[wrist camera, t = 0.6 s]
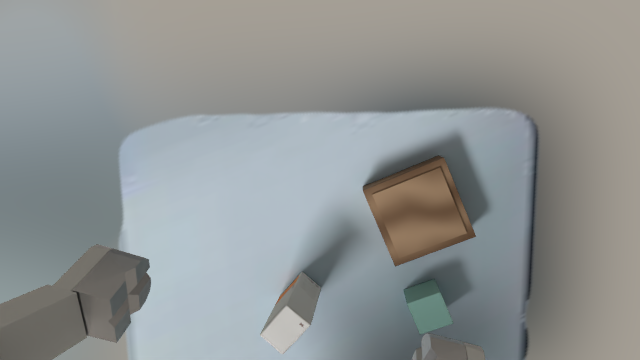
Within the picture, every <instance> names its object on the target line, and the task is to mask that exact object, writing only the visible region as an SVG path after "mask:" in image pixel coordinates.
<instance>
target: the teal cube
mask: <svg viewBox="0 0 640 360" xmlns="http://www.w3.org/2000/svg"><path fill="white" fill-rule="evenodd" d="M404 293H405V298H406V302H407V305H408V307H409V310H410V312H411V314H412V317H413V319H414V321H415V324H416V326H417V328H418V331H419V333H420V335H421V334H424V333H427V332H429V331H432V330H435V329H438V328H441V327H444V326H447V325H450V324H453V321H452V319H451V316H450V314H449V312H448V309H447V307H446V304H445V302H444V300H443V297H442V295H441V293H440V290H439V288H438V286H437V284H436V282H435V279H432V280H430V281H427V282H424V283H421V284H418V285H416V286H413V287H410V288H407V289H405V290H404Z"/></svg>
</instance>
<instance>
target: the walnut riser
mask: <svg viewBox="0 0 640 360" xmlns="http://www.w3.org/2000/svg"><path fill="white" fill-rule="evenodd" d="M363 192H364V194H365V197H366V199H367V201H368V204H369V206H370V209H371V211H372V213H373V216H374V218H375V220H376V223H377V225H378V227H379V230H380V232H381V234H382V237H383V239H384V241H385V244H386V246H387V248H388V251H389V253H390V255H391V258H392V260H393V262H394V265H395V266H398V265H400V264H403V263H406V262H408V261H411V260H414V259H416V258H419V257H422V256H425V255H427V254H430V253H433V252H435V251H438V250H441V249H443V248H446V247H449V246H452V245H454V244H457V243H460V242H462V241H465V240H468V239H470V238H473V237H476V235H475V233H474V230H473V228H472V226H471V223H470V221H469V218H468V216H467V213H466V211H465V208H464V206H463V203H462V201H461V198H460V196H459V193H458V191H457V189H456V186H455V184H454V181H453V179H452V176H451V174H450V171H449V169H448V166H447V164H446V161H445V159H444V157H441V156H436V157H434V158H431V159H429V160H426V161H424V162H421V163H419V164H417V165H414V166H412V167H409V168H407V169H404V170H402V171H400V172H397V173H395V174H392V175H390V176H387V177H385V178H382V179H380V180H378V181H375V182H373V183H370V184H368V185H365V186H363Z"/></svg>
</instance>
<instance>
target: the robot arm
mask: <svg viewBox="0 0 640 360" xmlns="http://www.w3.org/2000/svg"><path fill="white" fill-rule="evenodd" d="M149 268H150V265H149V259H146V258H143V257H140V256H136V255H133V254H130V253H126V252H123V251H119V250H116V249H112V248H109V247H105V246H102V245H98V244H96V245H94V246H93V247H91V248H89V250H88V251H87V252H86V253H85V254H84V255H83V256H82V257H81V258H80V259H79V260H78V261H77V262H76V263H75V264H74V265H73V266H72V267H71V268H70V269H69V270H68V271H67V272H66V273H65V274H64V275H63V276H62V277H61V278H60V279H59V280H58V281H57V282H56V283H55V284H54V285H53V286H51V285H45V286H43V287H40V288H38V289H36V290H33V291H31V292H28V293H26V294H23V295H21V296H19V297H16V298H14V299H11V300H9V301H7V302H4V303H2V304H0V360H52V359H54V358H55V357H57V356H58V355H60V354H61V353H63V352H65V351H66V350H68V349H70V348H71V347H73V346H74V345H76V344H77V343H79V342H81V341H82V340H84V339H85V338H87V336H92V337H95V338H99V339H103V340H108V341H112V342H116V343H117V342H118V340H119V339H120V338H121V336H122V335H123V333H124V332H125V330H126V329H127V328H128V326H129V325H130V323H131V318H130V314H132V313H134V312H136V311H138V310H140V309H141V307H142V306H143V304H144V303H145V301H146V299H147V296H148V294H149V292H150V287H151V278H150V277H149V275H148V274H147V273H146V272H147V270H148V269H149ZM421 343H422V347H420V348H418V349H416V350H415V352H414V354H413V356H412V360H485V355H484V351H483V349H482V348H481V347H480V346H476V345H472V344H469V343H465V342H461V341H459V340H455V339H451V338H447V337H443V336H439V335H435V334H431V333H426V334H424V336H423V338H422V340H421Z"/></svg>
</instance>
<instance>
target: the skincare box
mask: <svg viewBox="0 0 640 360" xmlns="http://www.w3.org/2000/svg"><path fill="white" fill-rule="evenodd" d="M320 291H321V287H320V286H318V285H317V284H316V283H315V282H314V281H313V280H311V279H310V278H309V277H308V276H307V275H306V274H305V273H303V272H301V273H300V274H299V276H298V277H297V278H296V279H295V280H294V281H293V282H292V284H291V285H290V286H289V287H288V288H287V289H286V290H285V291H284V292H283V293H282V294H281V295H280V297H279V299H278V301H277V303H276V304H275V306H274V308H273V310H272V312H271V314H270V316H269V318H268V320H267V322H266V324H265V326H264V328H263V330H262V332H261V334H260V336H262V337H263V338H264V339H265V340H266V341H267V342H269V343H270V344H271V345H272V346H273V347H274V348H275V349H276V350H278V351H279V352H280V353H281V354H284V353H285V352H286V350H287V349H288V348H289V347H290V346H291V345H292V344H293V343H294V342H296V341H297V339H298V338H299V337H300V336H301V335H302V334H303V333H304V332H305V331H306V329H307V328H308V327H309V326H310V325H311V322H312V319H313V315H314V312H315V308H316V305H317V301H318V298H319V294H320Z"/></svg>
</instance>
